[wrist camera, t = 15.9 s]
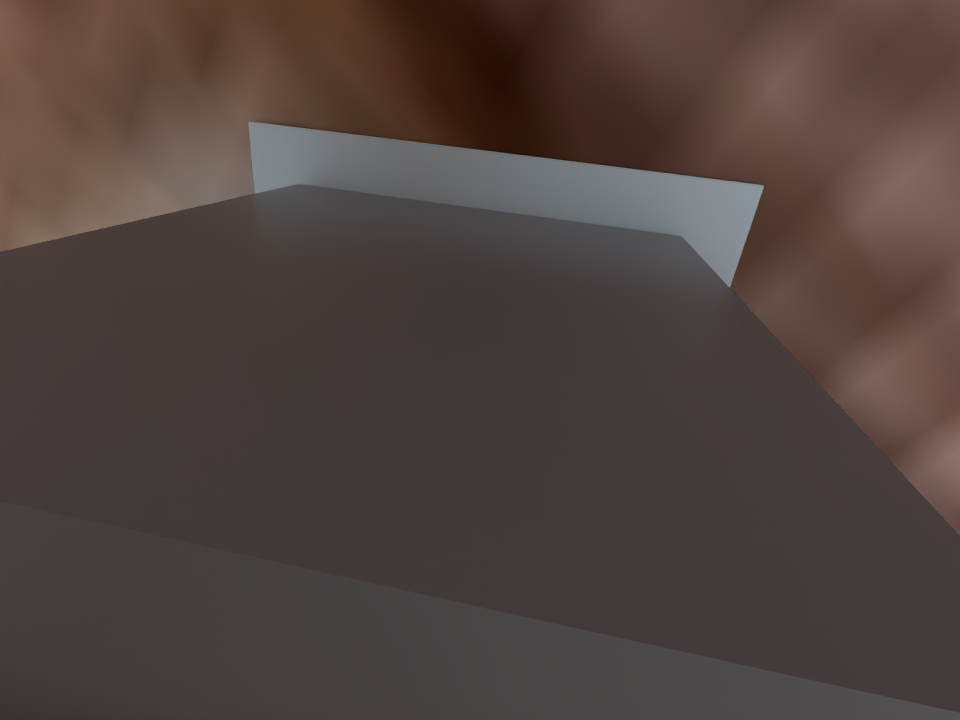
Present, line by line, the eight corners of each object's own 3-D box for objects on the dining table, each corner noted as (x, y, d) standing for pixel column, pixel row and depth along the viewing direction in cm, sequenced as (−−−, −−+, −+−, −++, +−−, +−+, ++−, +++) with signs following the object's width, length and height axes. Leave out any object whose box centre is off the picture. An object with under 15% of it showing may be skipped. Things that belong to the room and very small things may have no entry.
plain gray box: (298, 183, 10) (-554, 377, 3) (681, 236, 10) (1164, 755, 2) (317, 541, 15) (25, 1016, 7) (581, 598, 14) (588, 1207, 6)
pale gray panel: (253, 122, 10) (248, 121, 10) (760, 184, 9) (764, 185, 9) (289, 548, 16) (286, 553, 15) (616, 619, 15) (616, 625, 14)
